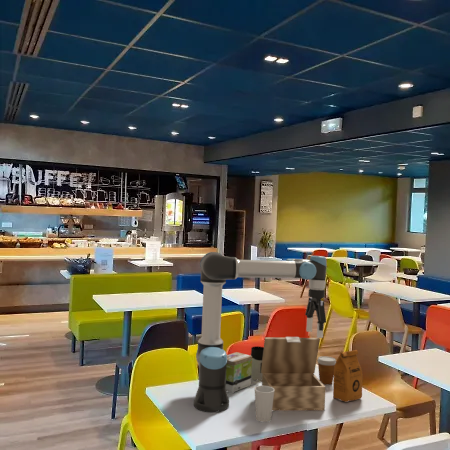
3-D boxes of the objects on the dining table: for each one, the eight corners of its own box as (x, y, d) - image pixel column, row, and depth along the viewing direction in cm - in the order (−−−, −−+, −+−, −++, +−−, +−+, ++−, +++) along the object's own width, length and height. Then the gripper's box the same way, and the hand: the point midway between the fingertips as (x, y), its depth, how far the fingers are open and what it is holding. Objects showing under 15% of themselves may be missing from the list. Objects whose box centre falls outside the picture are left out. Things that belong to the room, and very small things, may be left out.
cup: (257, 423, 185) (258, 393, 185) (250, 415, 192) (251, 386, 192) (276, 422, 187) (277, 391, 187) (268, 413, 195) (270, 385, 195)
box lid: (266, 341, 207) (264, 336, 211) (262, 376, 213) (260, 371, 217) (321, 342, 209) (319, 337, 213) (315, 377, 216) (313, 371, 220)
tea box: (233, 393, 216) (234, 361, 216) (216, 388, 222) (217, 357, 222) (251, 385, 228) (252, 355, 228) (234, 380, 234) (236, 351, 234)
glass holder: (256, 373, 246) (257, 345, 246) (277, 380, 236) (279, 351, 236) (245, 377, 240) (246, 347, 240) (266, 384, 230) (267, 354, 230)
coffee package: (365, 400, 214) (367, 352, 214) (345, 405, 208) (347, 355, 207) (349, 393, 222) (351, 346, 222) (329, 397, 216) (331, 349, 216)
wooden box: (269, 410, 198) (270, 386, 198) (261, 394, 216) (262, 373, 216) (324, 410, 200) (325, 387, 200) (312, 394, 218) (313, 373, 218)
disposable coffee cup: (313, 379, 240) (313, 356, 240) (329, 378, 243) (330, 355, 242) (322, 386, 231) (323, 362, 231) (339, 385, 233) (340, 360, 233)
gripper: (335, 292, 209) (332, 340, 208) (314, 286, 233) (312, 329, 233) (319, 291, 207) (316, 340, 207) (300, 285, 232) (297, 329, 231)
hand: (314, 334), depth 220 cm, fingers open, 13 cm apart
